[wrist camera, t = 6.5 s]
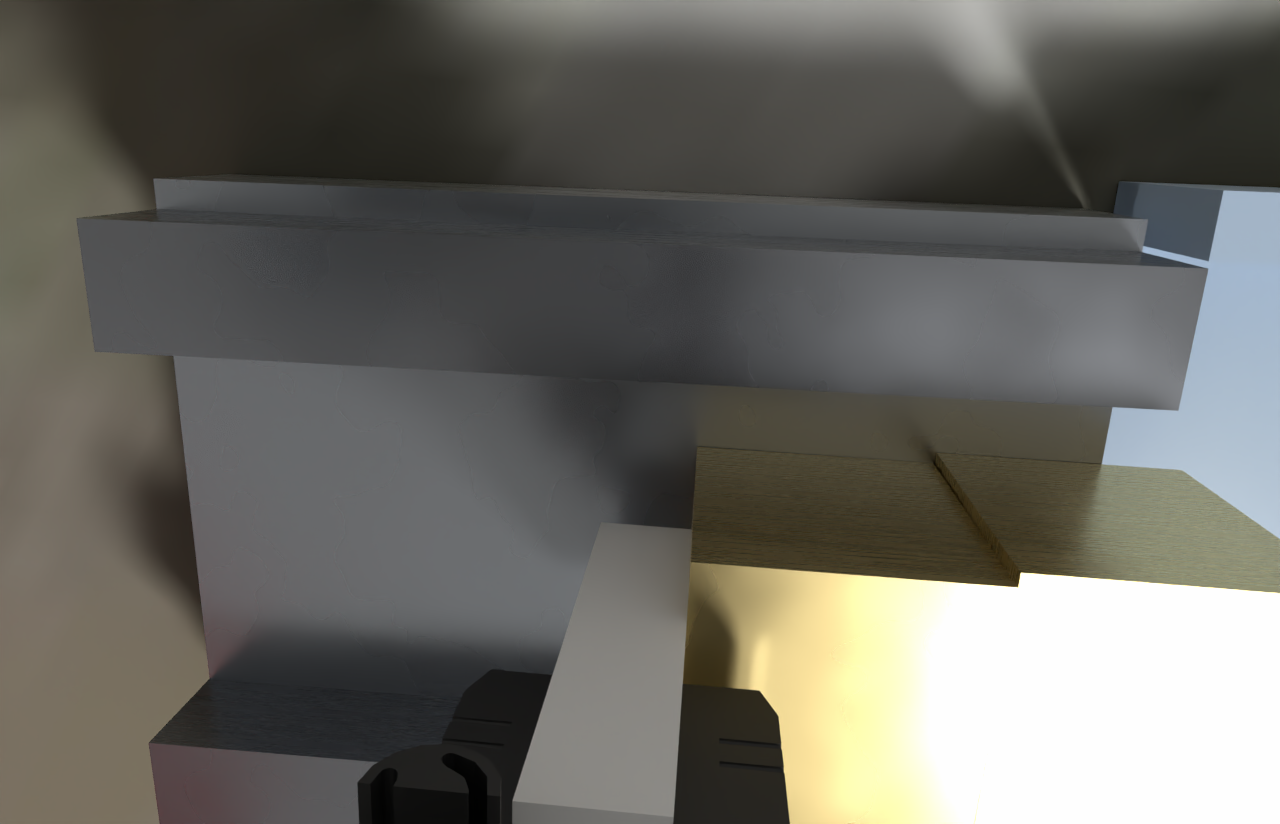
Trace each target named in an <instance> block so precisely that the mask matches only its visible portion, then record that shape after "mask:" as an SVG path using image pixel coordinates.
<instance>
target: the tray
mask: <svg viewBox="0 0 1280 824" xmlns="http://www.w3.org/2000/svg"><path fill="white" fill-rule="evenodd" d="M1113 214H1119V215H1125V216H1131V217H1137V218H1143V219H1148V224H1147V229H1146V235H1145V240H1144V245H1143V250H1142V252H1144V253H1148V254H1152V255H1156V256H1160V257H1164V258H1168V259H1172V260H1176V261H1180V262H1184V263H1188V264H1192V265H1196V266H1200V267H1204V268H1208V274H1207V279H1206V283H1205V288H1204V293H1203V298H1202V302H1201V307H1200V312H1199V316H1198V321H1197V326H1196V331H1195V335H1194V340H1193V345H1192V349H1191V354H1190V359H1189V364H1188V368H1187V373H1186V378H1185V382H1184V387H1183V392H1182V397H1181V401H1180V406H1179V411H1173V410H1155V409H1137V408H1118V407H1113V408H1112V413H1111V418H1110V424H1109V429H1108V434H1107V439H1106V445H1105V450H1104V455H1103V460H1102V464H1103V465H1117V466H1131V467H1145V468H1159V469H1173V470H1183V471H1184V472H1185V473H1187V474H1188V475H1190V476H1191V477H1193V478H1194V479H1195V480H1197V481H1198V482H1200V483H1201V484H1203V485H1204V486H1205V487H1207V488H1208V489H1210V490H1211V491H1212V492H1214V493H1215V494H1217V495H1218V496H1220V497H1221V498H1222V499H1224V500H1225V501H1227V502H1228V503H1229V504H1231V505H1232V506H1234V507H1235V508H1237V509H1238V510H1239V511H1241V512H1242V513H1244V514H1245V515H1246V516H1248V517H1249V518H1251V519H1252V520H1254V521H1255V522H1256V523H1258V524H1259V525H1261V526H1262V527H1264V528H1265V529H1266V530H1268V531H1269V532H1271V533H1272V534H1273V535H1275V536H1276V537H1278V538H1279V539H1280V188H1279V187H1253V186H1227V185H1201V184H1175V183H1149V182H1123V181H1119V185H1118V190H1117V196H1116V202H1115V207H1114V213H1113Z"/></svg>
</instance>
